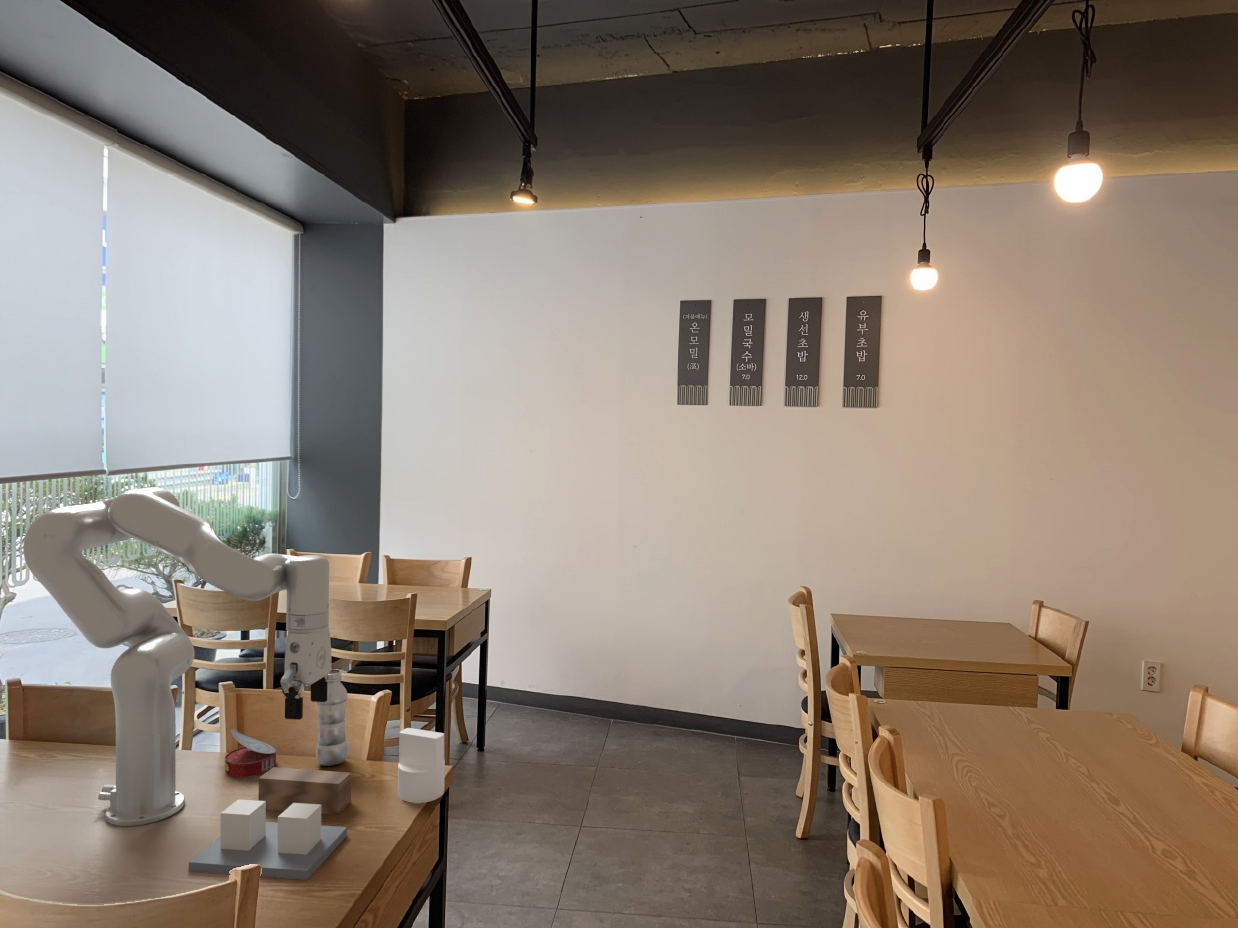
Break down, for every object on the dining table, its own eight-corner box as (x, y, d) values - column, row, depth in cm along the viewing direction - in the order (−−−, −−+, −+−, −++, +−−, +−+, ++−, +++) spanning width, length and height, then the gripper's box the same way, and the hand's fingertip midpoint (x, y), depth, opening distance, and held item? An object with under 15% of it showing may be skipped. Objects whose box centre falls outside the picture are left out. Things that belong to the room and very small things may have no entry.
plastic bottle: (352, 757, 169) (353, 667, 169) (338, 770, 162) (339, 676, 162) (324, 756, 170) (325, 666, 169) (309, 768, 163) (310, 675, 163)
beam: (258, 809, 145) (258, 777, 145) (273, 797, 150) (273, 767, 150) (338, 815, 143) (338, 783, 143) (350, 803, 148) (351, 772, 148)
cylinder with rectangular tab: (452, 786, 156) (453, 728, 155) (428, 806, 147) (428, 744, 147) (414, 779, 159) (415, 722, 158) (388, 798, 150) (388, 737, 150)
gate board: (188, 871, 124) (188, 825, 123) (239, 828, 137) (239, 786, 137) (307, 879, 122) (307, 833, 121) (346, 835, 136) (347, 793, 135)
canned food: (239, 781, 167) (249, 733, 172) (282, 780, 166) (290, 731, 170) (206, 777, 157) (217, 726, 162) (251, 775, 156) (261, 724, 160)
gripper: (304, 632, 137) (303, 727, 138) (346, 611, 155) (345, 696, 155) (264, 630, 138) (263, 724, 138) (310, 610, 155) (310, 694, 156)
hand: (306, 709), depth 147 cm, fingers open, 9 cm apart
